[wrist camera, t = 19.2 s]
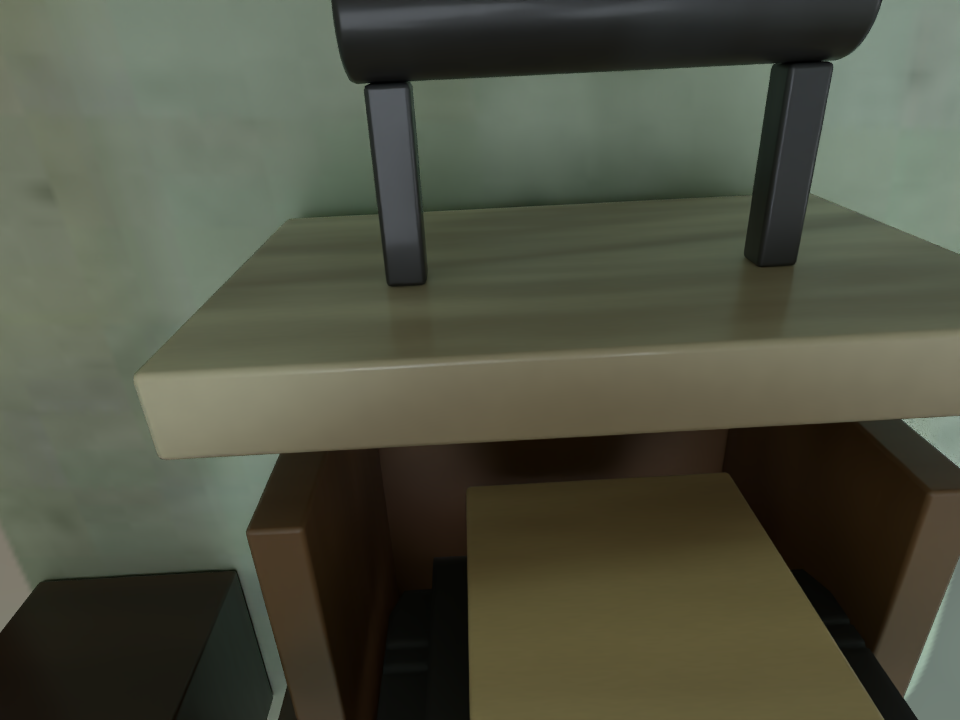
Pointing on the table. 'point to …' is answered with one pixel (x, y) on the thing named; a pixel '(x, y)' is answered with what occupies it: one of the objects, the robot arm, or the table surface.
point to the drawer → (576, 343)
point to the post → (134, 651)
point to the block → (642, 608)
